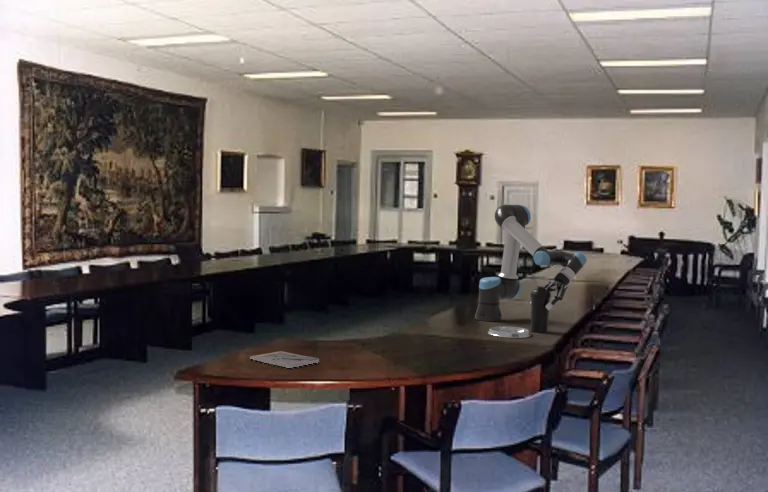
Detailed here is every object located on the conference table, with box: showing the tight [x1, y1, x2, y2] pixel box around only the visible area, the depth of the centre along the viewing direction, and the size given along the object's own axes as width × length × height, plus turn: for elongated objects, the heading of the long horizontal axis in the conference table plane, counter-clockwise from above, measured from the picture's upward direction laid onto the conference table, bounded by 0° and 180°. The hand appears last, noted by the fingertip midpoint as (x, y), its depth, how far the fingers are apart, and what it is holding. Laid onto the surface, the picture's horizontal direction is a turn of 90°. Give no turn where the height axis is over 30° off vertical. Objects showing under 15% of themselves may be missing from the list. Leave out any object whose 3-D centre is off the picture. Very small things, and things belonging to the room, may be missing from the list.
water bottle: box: [530, 285, 552, 334], centre depth 405 cm, size 10×10×23 cm
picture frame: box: [249, 350, 320, 369], centre depth 310 cm, size 16×2×22 cm
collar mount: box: [487, 325, 531, 339], centre depth 393 cm, size 21×21×2 cm
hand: (539, 306), depth 404 cm, fingers open, 13 cm apart
